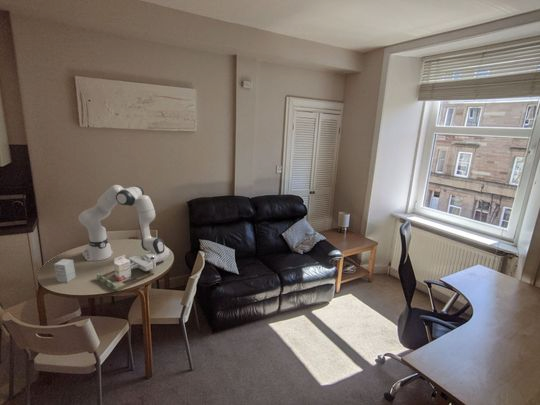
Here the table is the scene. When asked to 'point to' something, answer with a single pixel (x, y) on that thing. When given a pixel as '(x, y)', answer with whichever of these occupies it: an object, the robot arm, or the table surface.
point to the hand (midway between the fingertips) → (129, 267)
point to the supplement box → (64, 270)
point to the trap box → (126, 282)
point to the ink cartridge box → (122, 268)
